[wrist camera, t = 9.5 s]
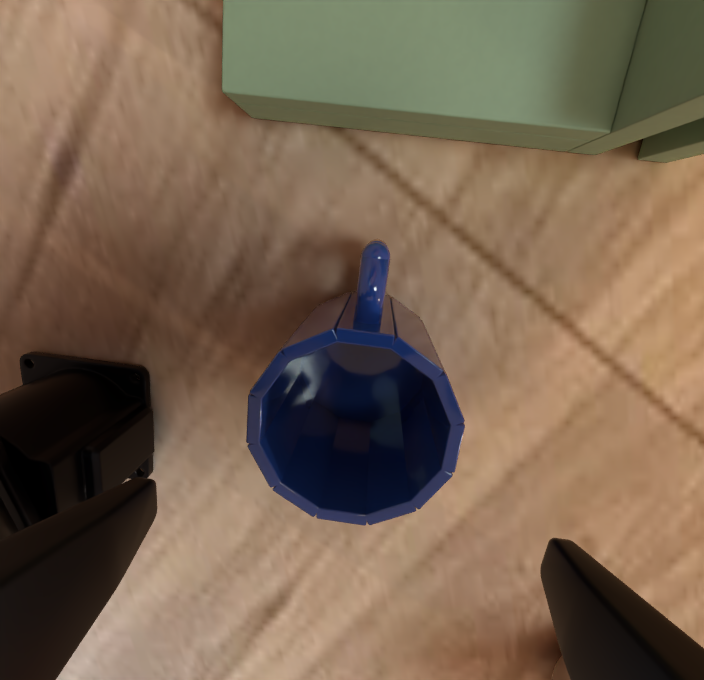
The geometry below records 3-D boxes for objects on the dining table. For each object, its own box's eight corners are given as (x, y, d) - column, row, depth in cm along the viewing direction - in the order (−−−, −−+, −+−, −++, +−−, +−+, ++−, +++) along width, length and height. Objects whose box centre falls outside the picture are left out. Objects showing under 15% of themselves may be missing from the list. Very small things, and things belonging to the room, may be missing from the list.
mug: (290, 413, 20) (243, 508, 13) (304, 229, 17) (254, 229, 10) (420, 431, 19) (440, 537, 13) (453, 247, 17) (502, 259, 10)
